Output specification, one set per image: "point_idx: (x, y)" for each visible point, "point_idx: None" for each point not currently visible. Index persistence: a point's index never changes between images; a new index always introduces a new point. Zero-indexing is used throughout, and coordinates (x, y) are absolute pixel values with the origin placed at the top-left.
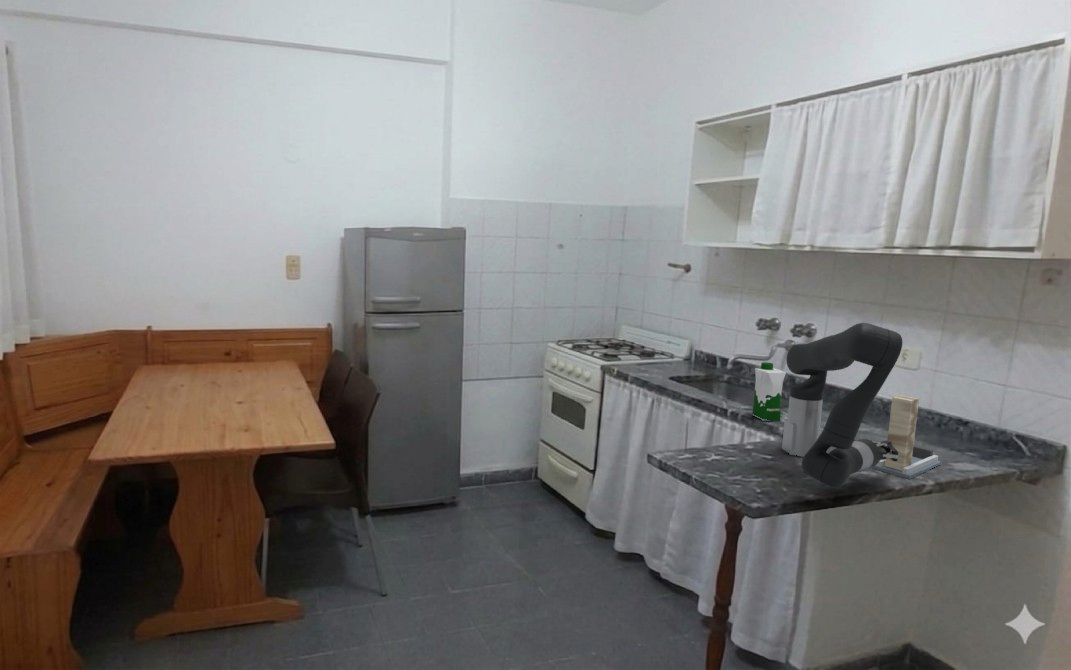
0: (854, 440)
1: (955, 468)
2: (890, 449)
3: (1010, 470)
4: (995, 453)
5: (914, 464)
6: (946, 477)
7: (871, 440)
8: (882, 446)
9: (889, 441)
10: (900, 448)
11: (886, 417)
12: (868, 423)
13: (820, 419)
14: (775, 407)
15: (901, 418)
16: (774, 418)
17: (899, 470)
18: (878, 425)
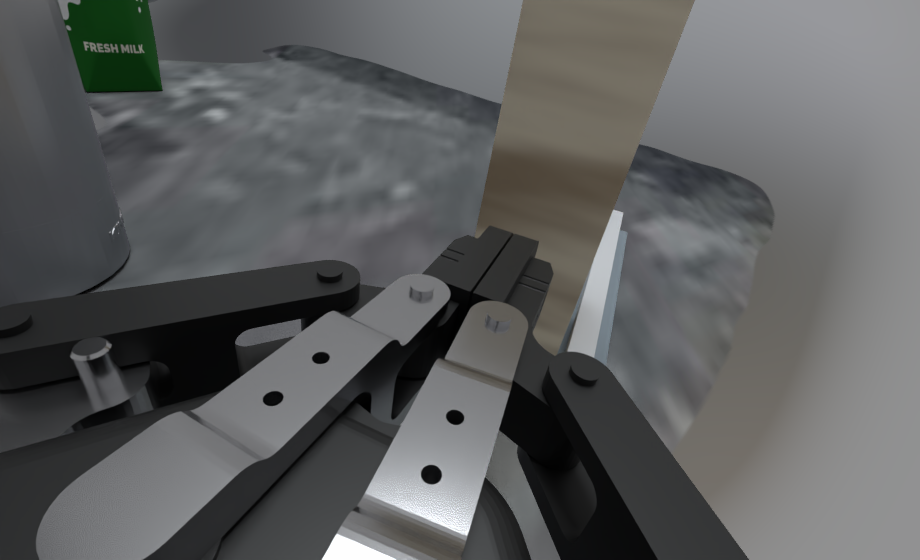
0: (41, 322)
1: (668, 254)
2: (624, 523)
3: (767, 234)
4: (677, 171)
5: (591, 302)
6: (695, 336)
7: (340, 268)
8: (486, 469)
9: (523, 237)
10: (561, 248)
11: (449, 88)
12: (412, 100)
13: (34, 37)
14: (118, 38)
15: (620, 3)
16: (132, 81)
17: None
18: (433, 104)
